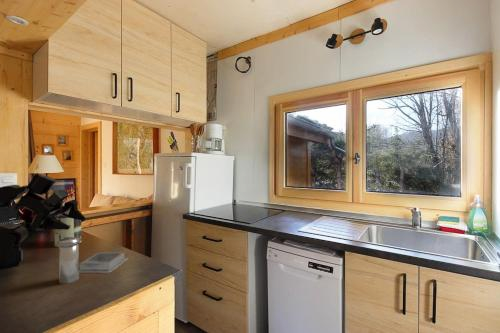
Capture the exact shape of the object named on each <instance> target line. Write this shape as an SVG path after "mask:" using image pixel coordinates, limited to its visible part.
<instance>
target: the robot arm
mask: <svg viewBox="0 0 500 333" xmlns="http://www.w3.org/2000/svg"><path fill="white" fill-rule="evenodd" d="M56 182H57V180H56V179H55V178H53V177H51V176H47V175H45V174H44V175H43V174H41V173H34V174H33V177H32V178H31V180H30V181H29V183H28V184H26V185H22V186H20V185H19V184H11V185H5V186H0V203H7V202H8V203H9V202H13V201H17V200H18V201H17V202H14V203H13V205H14V206H13V209H14V211H23V209H27V210H29V211H31V212H33V214H32V215H33V216H34V217H33V218H32V222H31V223H30V227H31V228H32V230H35V231H40V230H41V231H44V230H55V229H64V230H68V229H69V228H70V227H69V226H68V225H67V224H65V223H63V222H61V221H60V220H58V219H56V216H59V215H61V214H62V215H64V216H67V217H68V218H73V219H78V220H81V221H86V219H87V218H86V217H85V215H83V214H82V211H80V210H79V209H78V206H79V201H78V200H76V199H71V200H68V201H66V202H63V201H64V200H65V199H68V198H69V192H68V190H65V189H60V190H58V191H54V192H53V193H52V194H51V195H50V196H49V197H47V198H45V197H42V196H44V195H47V194H49V192H50V191H51V189H52V187H54V185H55V183H56ZM63 203H64V204H63ZM61 206H62V207H61ZM22 225H23V224H21V223H19V224H16V223H12V222H6V223H4V224H2V225H0V269H6V268H11V267H12V268H13V267H17V266H20V264H21V263H22V262H23V260H24V258H23V257H24V255H23V254H24V252H23V250H24V249H22V248H21V245H22V243H23V241H24V240H25V239H26V238H28V236H29V230H28V228H27V227H25V226H24V225H23V226H22Z"/></svg>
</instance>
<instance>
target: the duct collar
mask: <svg viewBox="0 0 500 333" xmlns="http://www.w3.org/2000/svg"><path fill="white" fill-rule="evenodd" d="M127 260H129V258H128V257H125V252H97V253H95V254H93V255H92V256H89V257H88V258H87V259H84V260H83V261H82V262H80V263H79V274H81V273H83V274H84V273H93V274H94V273H99V274H100V273H103V274H107V273H111V272H113V271H114V270H116V269H117V268H118V267H119V266H121V265H122V264H124V263H125V262H126V261H127Z"/></svg>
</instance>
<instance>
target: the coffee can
mask: <svg viewBox="0 0 500 333" xmlns="http://www.w3.org/2000/svg"><path fill="white" fill-rule="evenodd" d="M56 219H58V220H60V221H61V222H63V223H65V224H67V225H68V226H69V227H70V228H69V229H68V230H64V229H54V247H57V248H59V247H58V246H57V242H58V241H59V240H61V239H64V238H70V237H78V238H80V243H82V220H78V219H73V218H68V217H67V216H64V215H62V214H61V215H59V216H56ZM80 243H79V244H80Z"/></svg>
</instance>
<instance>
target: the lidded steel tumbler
mask: <svg viewBox="0 0 500 333" xmlns="http://www.w3.org/2000/svg"><path fill="white" fill-rule="evenodd" d="M79 245H80V238H78V237H70V238H64V239H61V240H59V241H58V242H57V246H58V247H57V248H59V249H58V266H59V267H58V270H59V271H58V272H59V273H58V278H59V284H61V285H62V284H63V285H66V284H71V283H75V282H76V281H78V280H79V279H80V277H79V276H80V273H79V269H80V263H79V262H80V261H79V259H80V258H79V256H80V254H79V248H80V247H79Z"/></svg>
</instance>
